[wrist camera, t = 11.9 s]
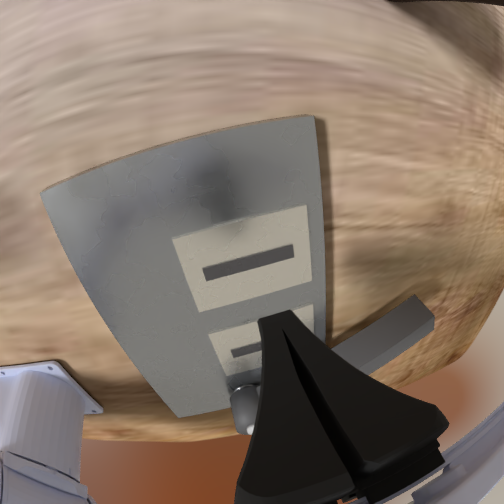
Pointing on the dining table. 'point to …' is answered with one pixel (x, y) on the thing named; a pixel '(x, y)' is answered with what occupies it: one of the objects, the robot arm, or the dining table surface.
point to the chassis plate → (200, 252)
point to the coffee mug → (494, 0)
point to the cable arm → (356, 352)
